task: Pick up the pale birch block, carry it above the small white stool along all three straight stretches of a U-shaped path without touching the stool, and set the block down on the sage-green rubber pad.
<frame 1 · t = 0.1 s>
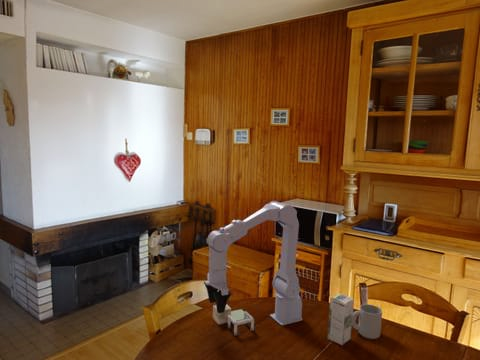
hand: (216, 307, 116), 10 cm above the table, tool pointing down, fingers open, 7 cm apart
syrup box: (339, 339, 118), on the table
small white stool: (240, 329, 122), on the table
birch block: (221, 320, 128), on the table
cup: (364, 333, 122), on the table
end pad: (237, 316, 131), on the table
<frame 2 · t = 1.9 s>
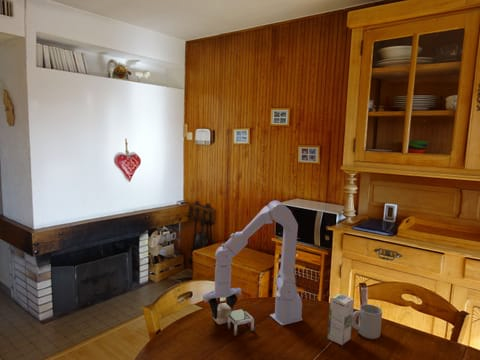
hand: (221, 316, 128), 1 cm above the table, tool pointing down, fingers closed on birch block, 5 cm apart
birch block: (221, 319, 128), on the table, touching gripper
everything else where it was.
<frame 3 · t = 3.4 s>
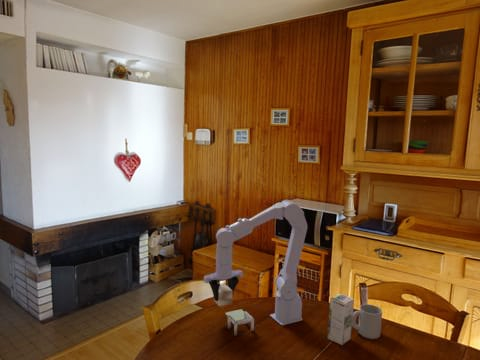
hand: (223, 298, 127), 8 cm above the table, tool pointing down, fingers closed on birch block, 5 cm apart
birch block: (222, 302, 127), point 7 cm above the table, touching gripper
everything else where it was.
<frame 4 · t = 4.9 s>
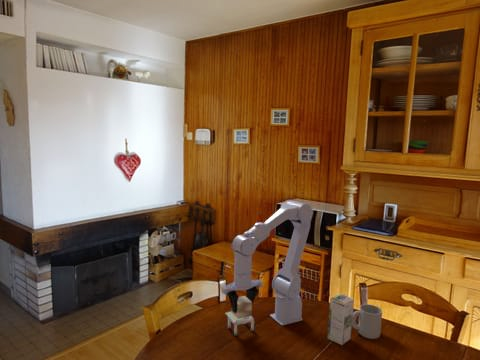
hand: (241, 310, 118), 8 cm above the table, tool pointing down, fingers closed on birch block, 5 cm apart
birch block: (241, 314, 119), point 7 cm above the table, touching gripper
everything else where it was.
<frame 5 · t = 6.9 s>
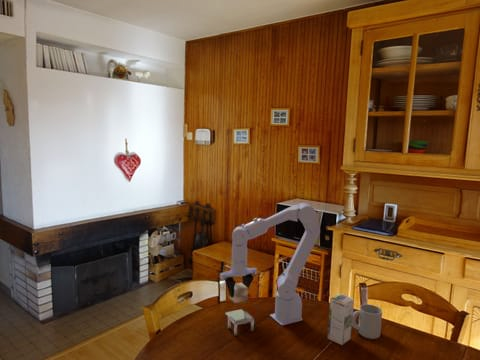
hand: (238, 295, 130), 8 cm above the table, tool pointing down, fingers closed on birch block, 5 cm apart
birch block: (238, 299, 130), point 7 cm above the table, touching gripper
everything else where it was.
when the fingers open (3 cm above the table, at t = 8.2 s): birch block drops 1 cm, resting on end pad.
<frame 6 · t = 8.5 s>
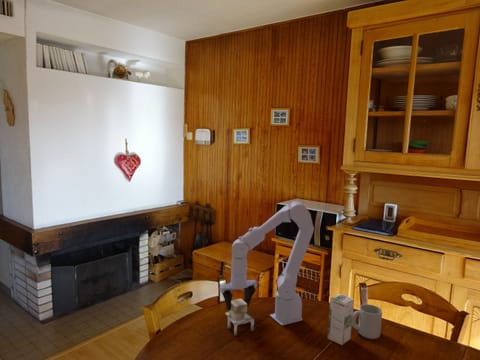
hand: (237, 307, 131), 3 cm above the table, tool pointing down, fingers open, 7 cm apart
birch block: (237, 315, 131), resting on end pad
everything else where it was.
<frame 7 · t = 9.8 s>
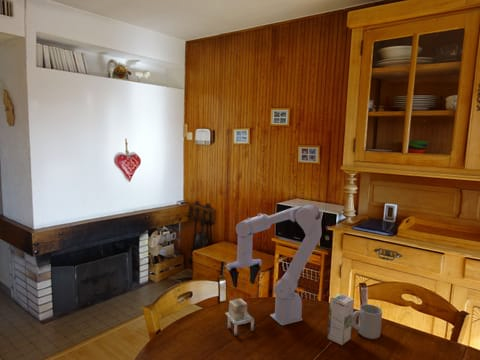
hand: (243, 284, 137), 9 cm above the table, tool pointing down, fingers open, 7 cm apart
nothing on the table moved.
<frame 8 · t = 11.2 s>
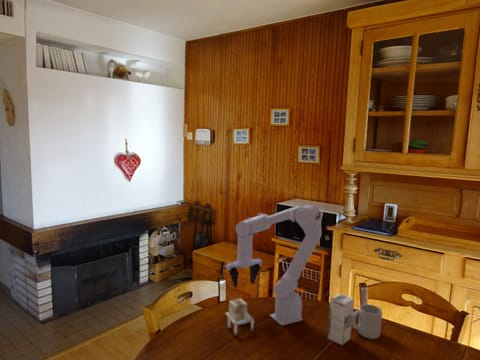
hand: (243, 284, 137), 9 cm above the table, tool pointing down, fingers open, 7 cm apart
nothing on the table moved.
at the end: birch block 0.1 cm off-centre on the end pad, point 0.4 cm above the end pad's base; birch block tilted 0°; birch block touching end pad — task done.
